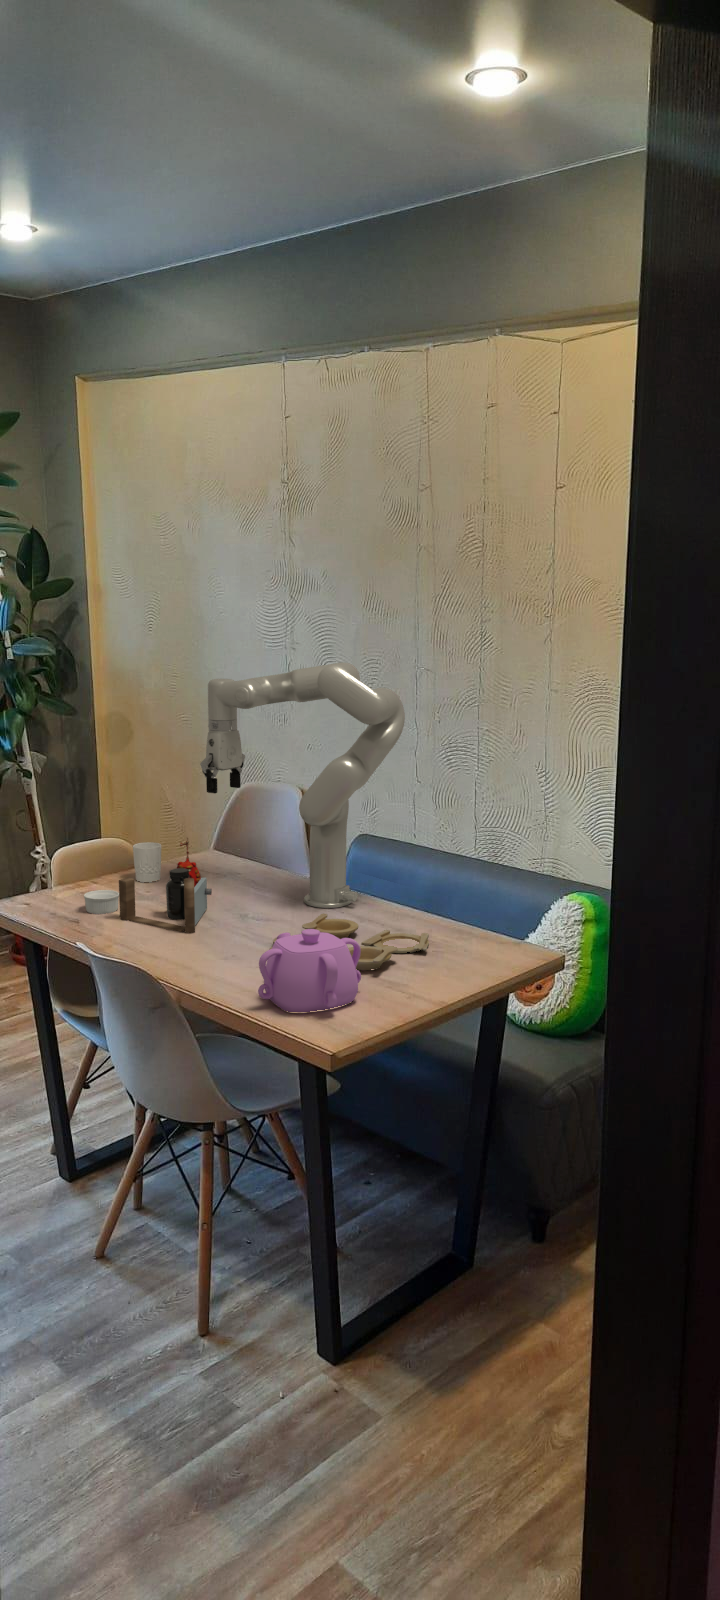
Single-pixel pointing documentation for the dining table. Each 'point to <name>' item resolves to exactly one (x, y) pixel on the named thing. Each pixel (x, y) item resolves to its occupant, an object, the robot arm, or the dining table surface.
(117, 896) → the ramekin
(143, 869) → the white cup
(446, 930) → the dining table surface
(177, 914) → the supplement bottle
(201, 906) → the door
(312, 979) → the purple lidded pot
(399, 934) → the tableware set
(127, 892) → the door frame
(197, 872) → the red clay folk toy
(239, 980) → the dining table surface
